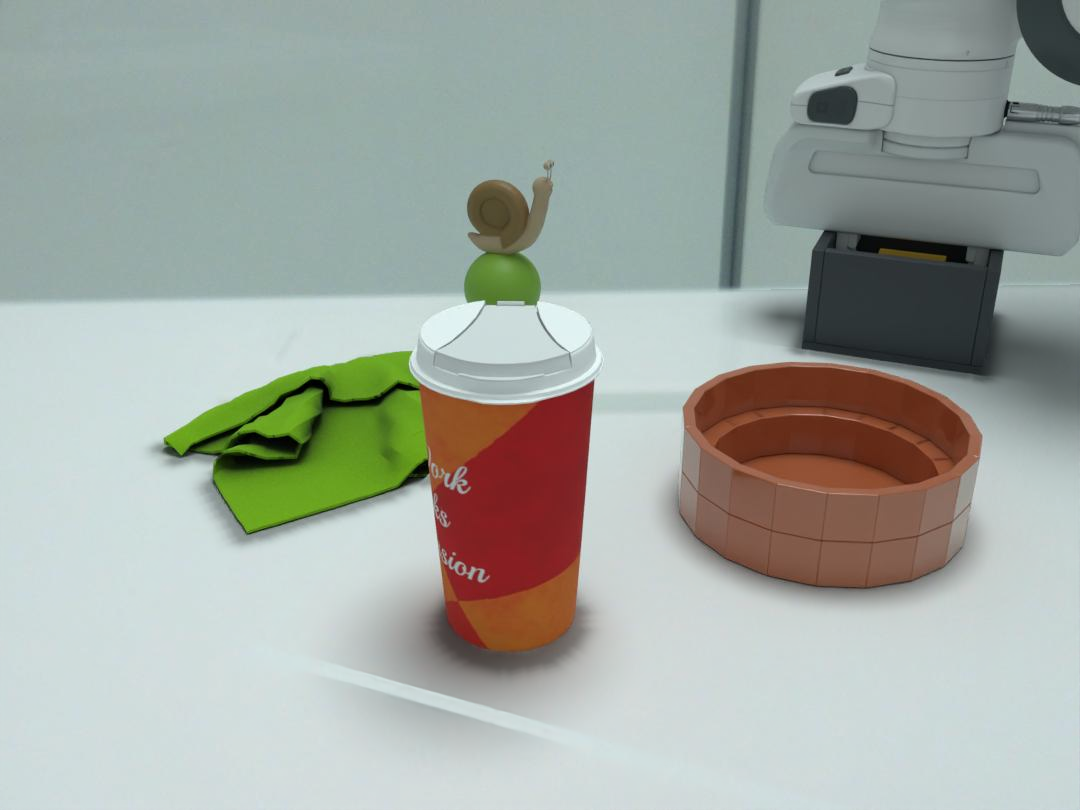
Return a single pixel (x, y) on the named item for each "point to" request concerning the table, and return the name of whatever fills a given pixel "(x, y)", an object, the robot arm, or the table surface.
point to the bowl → (827, 473)
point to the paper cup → (508, 464)
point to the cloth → (314, 439)
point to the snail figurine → (505, 241)
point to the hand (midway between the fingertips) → (904, 298)
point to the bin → (901, 303)
